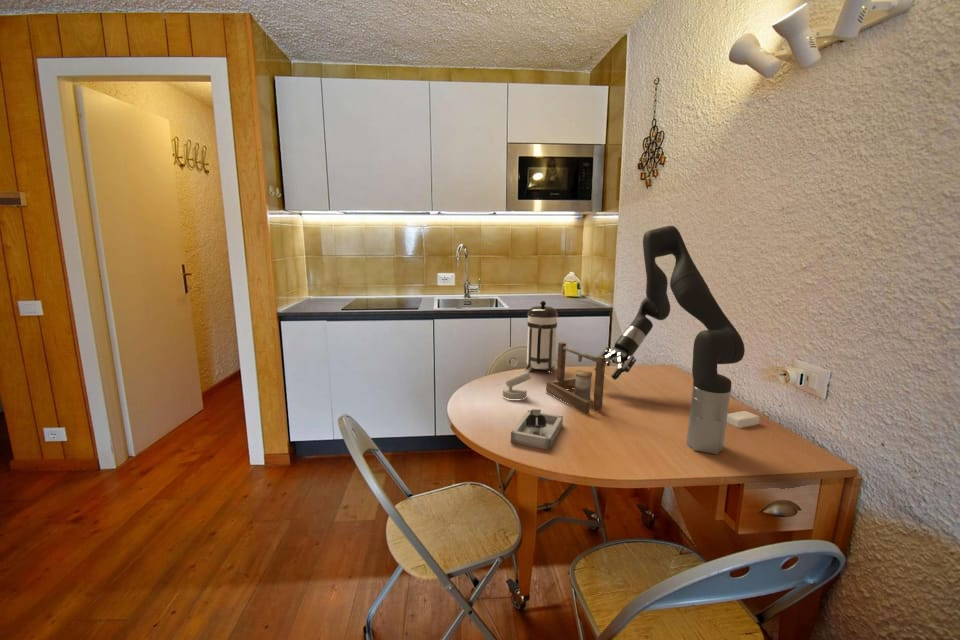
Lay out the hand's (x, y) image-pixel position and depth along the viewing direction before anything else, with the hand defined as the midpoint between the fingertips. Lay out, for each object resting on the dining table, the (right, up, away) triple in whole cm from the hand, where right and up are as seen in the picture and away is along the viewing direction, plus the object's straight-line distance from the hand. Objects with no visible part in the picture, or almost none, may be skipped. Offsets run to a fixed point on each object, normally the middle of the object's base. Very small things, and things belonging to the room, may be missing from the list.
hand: (604, 374), depth 160 cm
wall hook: (-32, -8, -1) cm, 33 cm away
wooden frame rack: (-9, -8, -3) cm, 13 cm away
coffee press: (-19, -2, +29) cm, 35 cm away
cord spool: (-9, -8, -3) cm, 13 cm away
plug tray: (-28, -13, -31) cm, 44 cm away
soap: (+37, -13, -21) cm, 45 cm away
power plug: (-29, -13, -29) cm, 43 cm away
